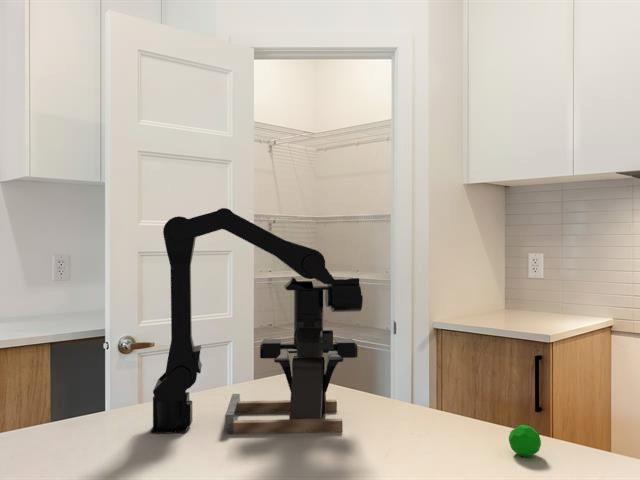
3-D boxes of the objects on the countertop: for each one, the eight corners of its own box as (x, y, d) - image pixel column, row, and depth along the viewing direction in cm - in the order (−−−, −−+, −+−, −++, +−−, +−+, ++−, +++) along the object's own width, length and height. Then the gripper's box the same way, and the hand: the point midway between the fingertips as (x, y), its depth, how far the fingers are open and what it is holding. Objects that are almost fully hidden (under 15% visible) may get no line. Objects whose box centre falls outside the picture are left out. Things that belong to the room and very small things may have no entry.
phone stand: (297, 410, 119) (297, 351, 119) (326, 411, 118) (327, 352, 118) (288, 424, 110) (288, 361, 110) (320, 426, 109) (320, 362, 109)
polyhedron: (547, 457, 95) (547, 428, 95) (527, 463, 93) (527, 433, 93) (522, 447, 100) (522, 419, 100) (502, 453, 97) (502, 424, 97)
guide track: (228, 433, 106) (227, 423, 106) (235, 410, 120) (235, 401, 120) (342, 431, 108) (342, 420, 108) (336, 409, 122) (336, 399, 122)
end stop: (225, 434, 106) (225, 414, 106) (232, 410, 120) (232, 393, 120) (233, 433, 107) (233, 414, 107) (239, 410, 121) (239, 393, 120)
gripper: (258, 318, 106) (258, 404, 106) (361, 318, 107) (360, 403, 107) (261, 310, 117) (261, 388, 117) (354, 310, 118) (354, 387, 118)
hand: (308, 392), depth 114 cm, fingers closed on phone stand, 6 cm apart
